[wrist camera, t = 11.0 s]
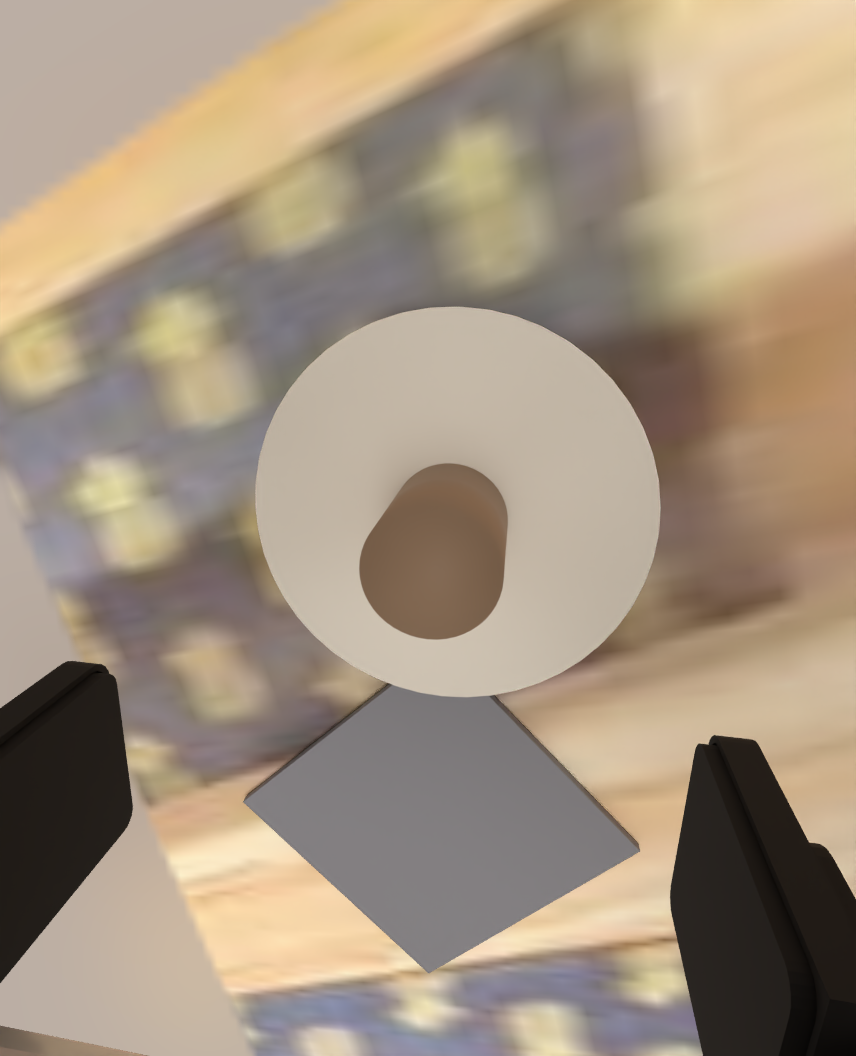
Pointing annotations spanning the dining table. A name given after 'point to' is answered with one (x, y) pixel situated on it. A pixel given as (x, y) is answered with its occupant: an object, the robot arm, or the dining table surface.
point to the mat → (440, 819)
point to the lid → (457, 501)
